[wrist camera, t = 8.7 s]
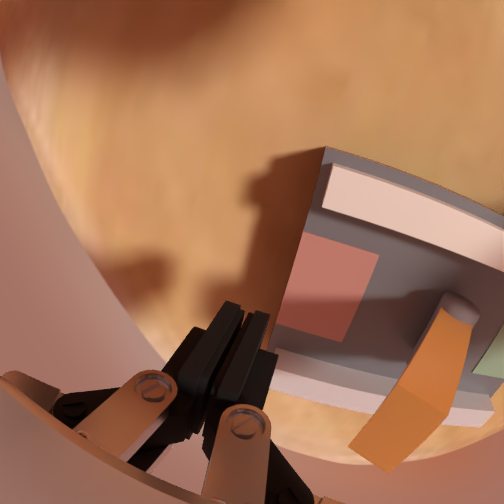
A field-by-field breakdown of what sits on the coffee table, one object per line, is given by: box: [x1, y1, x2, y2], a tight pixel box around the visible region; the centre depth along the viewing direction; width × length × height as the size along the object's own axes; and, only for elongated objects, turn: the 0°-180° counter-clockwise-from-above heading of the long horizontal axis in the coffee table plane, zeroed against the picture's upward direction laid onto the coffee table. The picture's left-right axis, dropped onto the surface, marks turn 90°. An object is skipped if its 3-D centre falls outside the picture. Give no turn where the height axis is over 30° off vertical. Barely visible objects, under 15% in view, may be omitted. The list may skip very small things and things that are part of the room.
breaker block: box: [266, 146, 504, 427], centre depth 15 cm, size 14×18×5 cm
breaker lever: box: [348, 292, 480, 473], centre depth 11 cm, size 4×2×9 cm, turn 168°
